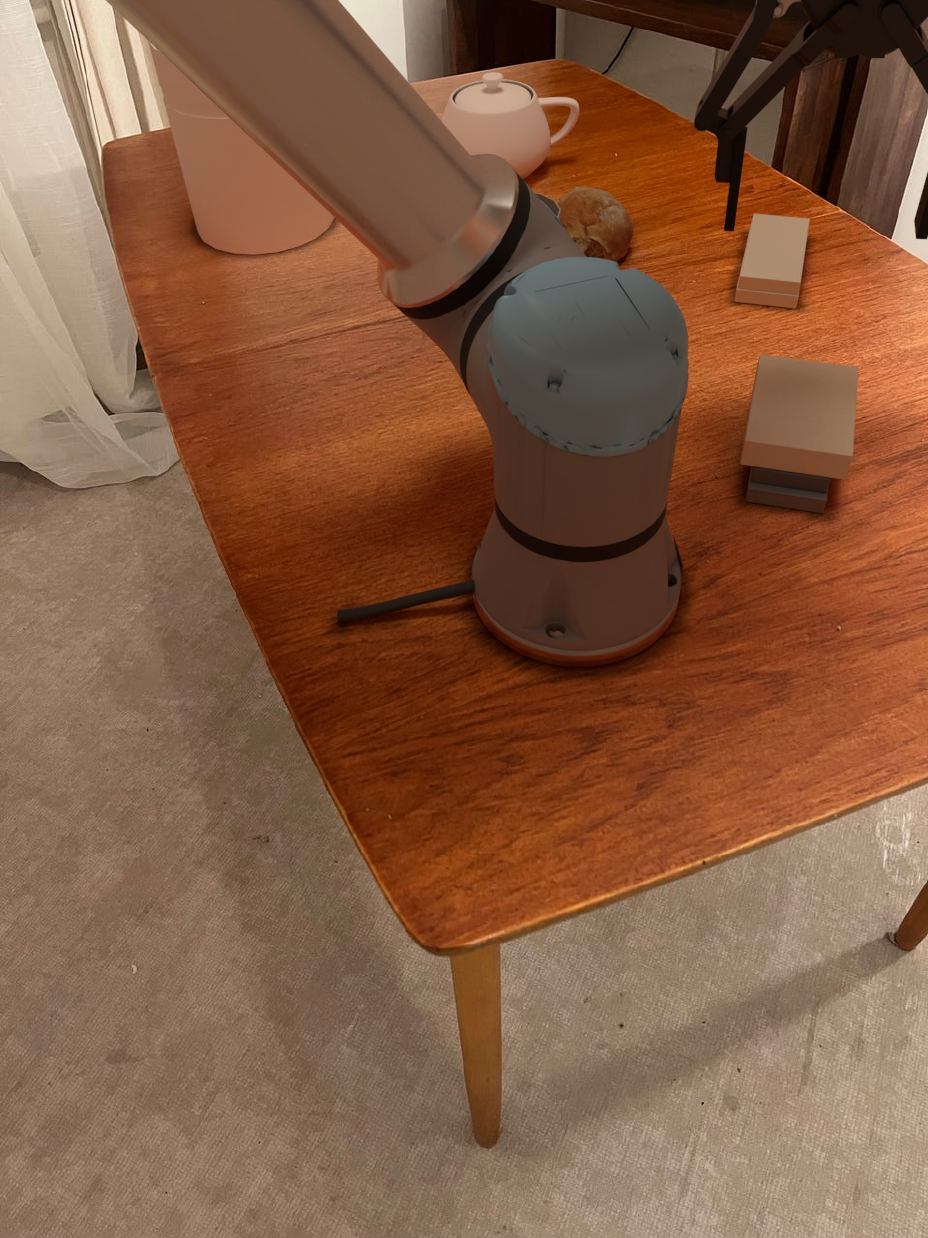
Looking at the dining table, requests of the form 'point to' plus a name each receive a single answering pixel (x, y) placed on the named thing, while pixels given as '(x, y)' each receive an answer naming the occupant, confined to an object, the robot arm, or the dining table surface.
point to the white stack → (773, 261)
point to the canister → (233, 176)
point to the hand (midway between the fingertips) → (823, 226)
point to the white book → (801, 417)
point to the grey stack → (787, 489)
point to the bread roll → (596, 223)
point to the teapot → (505, 121)
